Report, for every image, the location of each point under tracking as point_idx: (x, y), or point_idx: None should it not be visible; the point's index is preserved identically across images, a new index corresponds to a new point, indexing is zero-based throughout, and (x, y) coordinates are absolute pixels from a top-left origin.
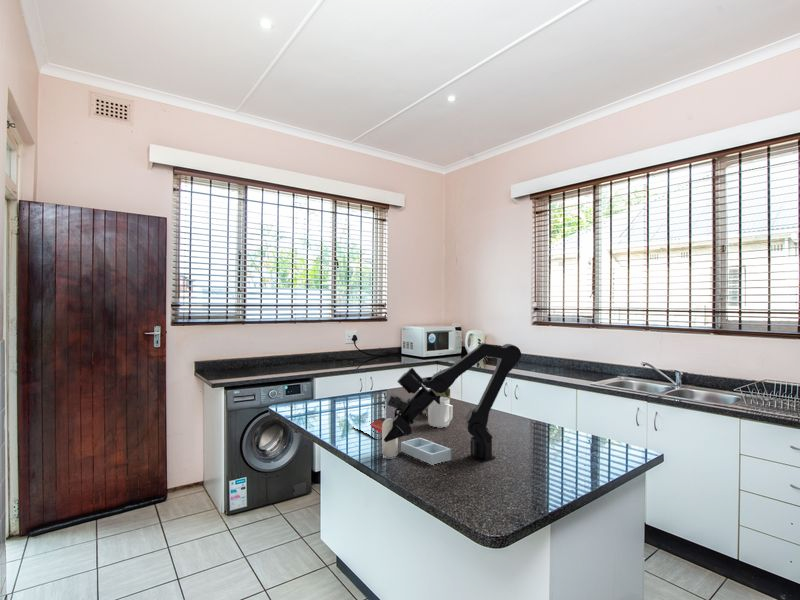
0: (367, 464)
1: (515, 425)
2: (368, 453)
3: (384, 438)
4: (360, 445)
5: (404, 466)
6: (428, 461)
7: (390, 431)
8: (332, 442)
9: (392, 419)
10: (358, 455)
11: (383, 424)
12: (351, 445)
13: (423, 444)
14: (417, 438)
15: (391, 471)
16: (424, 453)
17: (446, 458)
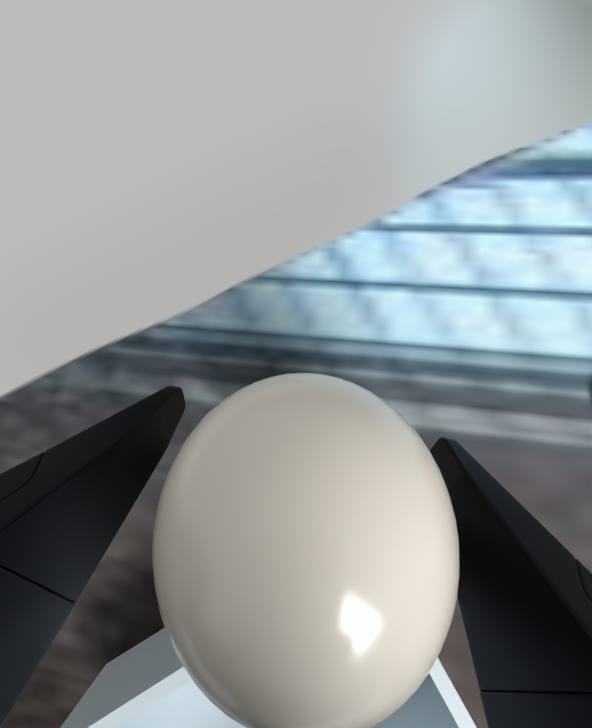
0: (209, 311)
1: None
2: (362, 326)
3: (163, 392)
4: (493, 294)
5: (140, 493)
6: (121, 665)
7: (13, 474)
8: (544, 164)
9: (243, 692)
10: (339, 277)
11: (253, 388)
12: (494, 250)
13: (405, 718)
14: (460, 718)
15: (93, 415)
16: (128, 690)
17: None
